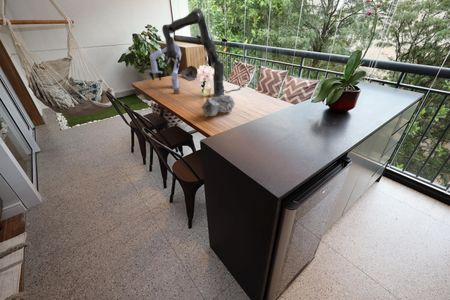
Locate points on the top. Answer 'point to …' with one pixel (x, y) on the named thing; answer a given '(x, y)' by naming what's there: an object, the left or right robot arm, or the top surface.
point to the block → (176, 91)
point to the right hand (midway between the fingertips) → (173, 68)
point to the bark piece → (189, 73)
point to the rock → (218, 105)
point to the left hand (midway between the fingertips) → (156, 80)
